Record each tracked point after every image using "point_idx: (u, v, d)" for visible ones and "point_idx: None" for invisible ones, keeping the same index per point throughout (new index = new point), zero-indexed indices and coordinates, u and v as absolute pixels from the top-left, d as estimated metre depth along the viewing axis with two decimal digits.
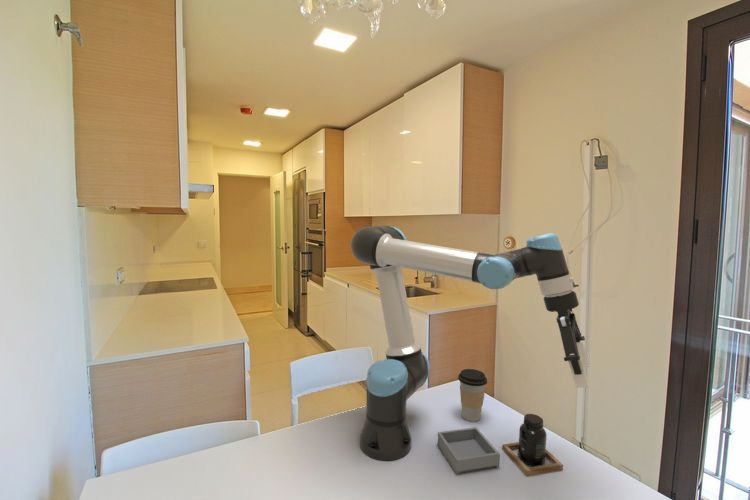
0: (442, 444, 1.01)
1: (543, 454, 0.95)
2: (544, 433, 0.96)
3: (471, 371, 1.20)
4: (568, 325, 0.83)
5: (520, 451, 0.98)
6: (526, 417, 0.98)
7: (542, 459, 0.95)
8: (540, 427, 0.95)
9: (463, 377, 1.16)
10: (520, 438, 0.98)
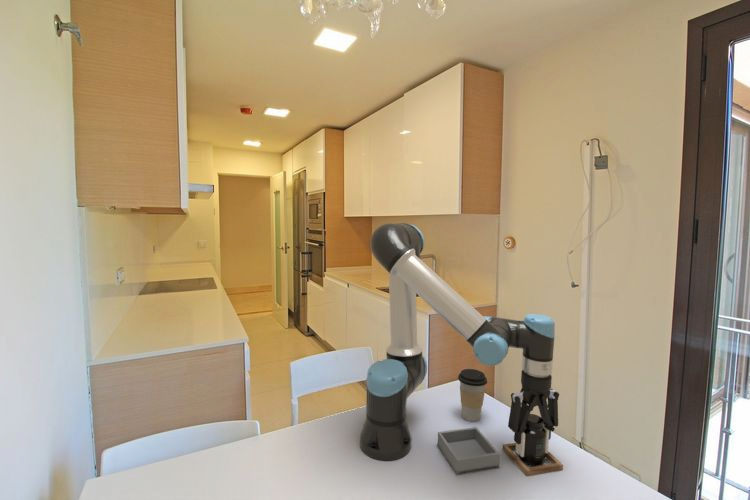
0: (442, 444, 1.01)
1: (543, 454, 0.95)
2: (544, 433, 0.96)
3: (471, 371, 1.20)
4: (516, 404, 0.95)
5: None
6: None
7: (542, 459, 0.95)
8: (540, 427, 0.95)
9: (463, 377, 1.16)
10: None
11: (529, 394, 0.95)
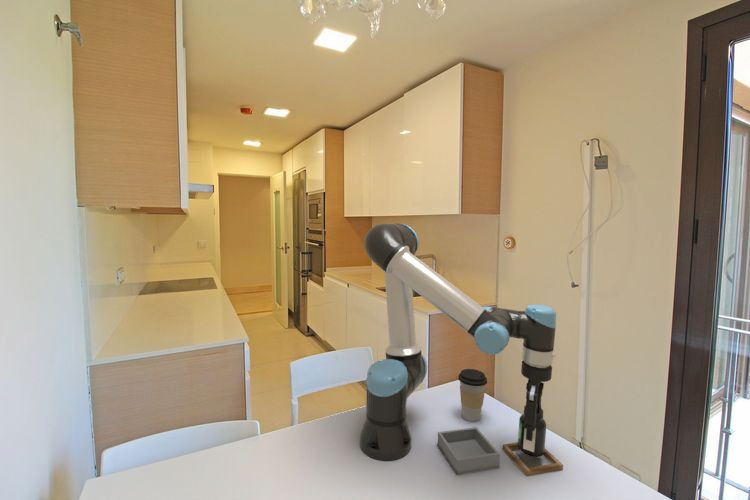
0: (442, 444, 1.01)
1: None
2: (543, 419, 0.98)
3: (471, 371, 1.20)
4: (535, 401, 0.91)
5: None
6: None
7: (544, 445, 0.97)
8: (542, 415, 0.97)
9: (463, 377, 1.16)
10: None
11: (538, 387, 0.94)
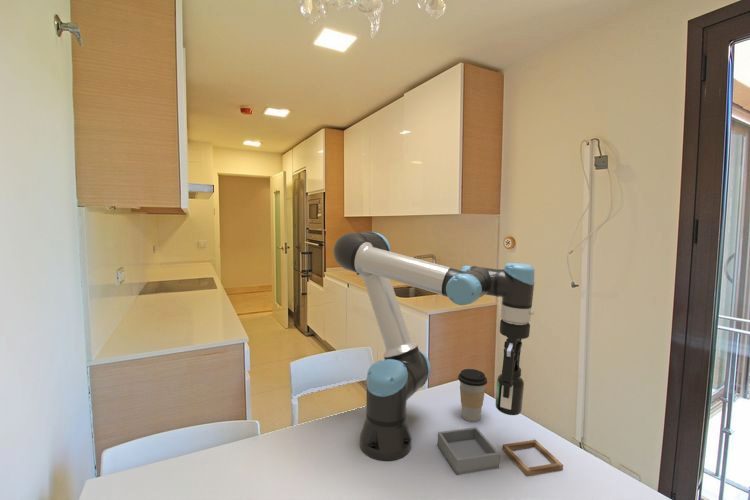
0: (442, 444, 1.01)
1: None
2: (521, 378, 0.97)
3: (471, 371, 1.20)
4: (512, 357, 0.90)
5: None
6: None
7: None
8: (520, 373, 0.96)
9: (463, 377, 1.16)
10: None
11: (516, 344, 0.93)
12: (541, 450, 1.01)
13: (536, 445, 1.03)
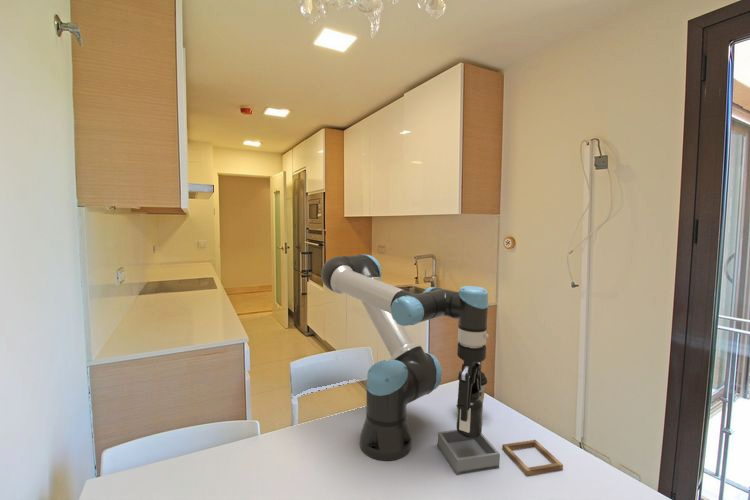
0: (442, 444, 1.01)
1: None
2: (480, 400, 0.98)
3: None
4: (466, 381, 0.91)
5: None
6: None
7: (481, 426, 0.97)
8: (479, 396, 0.97)
9: None
10: None
11: (472, 367, 0.94)
12: (541, 450, 1.01)
13: (536, 445, 1.03)
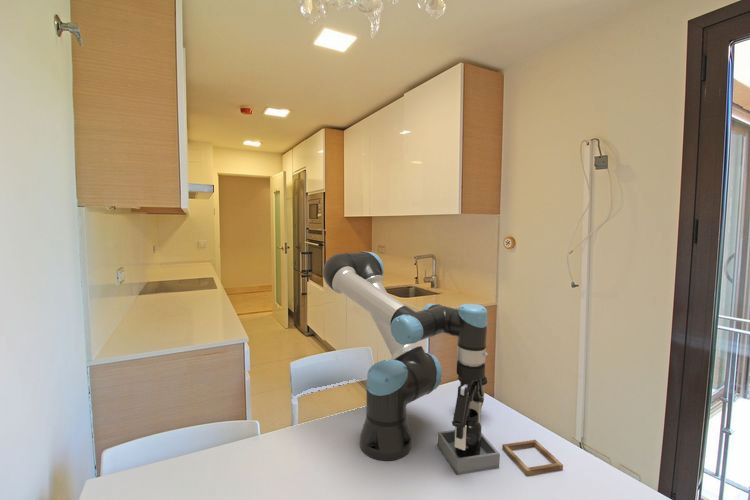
0: (442, 444, 1.01)
1: (480, 443, 0.98)
2: (479, 423, 0.99)
3: None
4: (465, 396, 0.91)
5: (463, 450, 0.96)
6: None
7: None
8: (477, 418, 0.98)
9: None
10: None
11: (471, 386, 0.95)
12: (541, 450, 1.01)
13: (536, 445, 1.03)
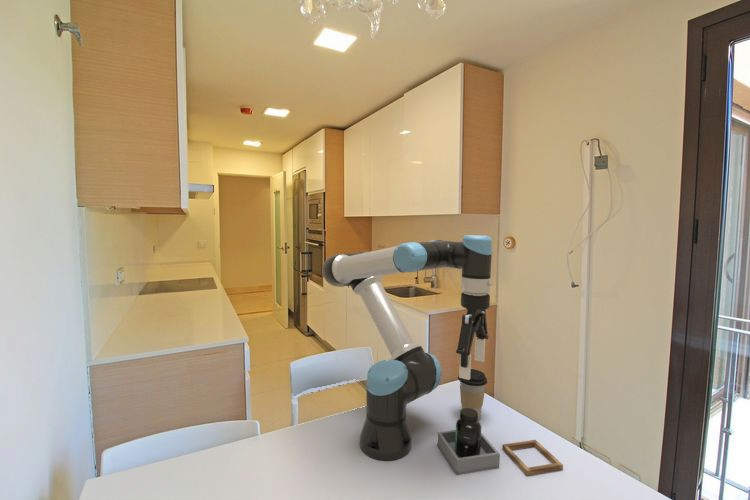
0: (442, 444, 1.01)
1: (480, 443, 0.98)
2: None
3: (471, 371, 1.20)
4: (470, 323, 0.89)
5: (463, 450, 0.96)
6: (464, 414, 0.97)
7: None
8: (477, 418, 0.98)
9: None
10: (462, 437, 0.96)
11: (475, 316, 0.93)
12: (541, 450, 1.01)
13: (536, 445, 1.03)
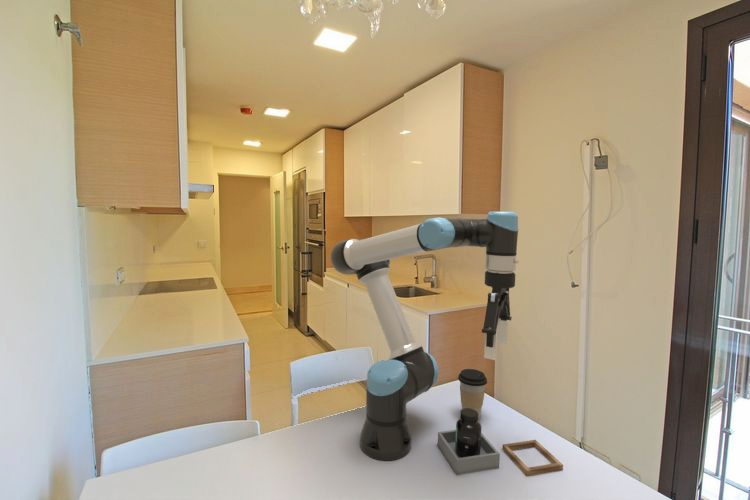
0: (442, 444, 1.01)
1: (480, 443, 0.98)
2: (479, 422, 0.99)
3: (471, 371, 1.20)
4: (496, 301, 0.86)
5: (463, 450, 0.96)
6: (464, 414, 0.97)
7: (480, 448, 0.98)
8: (477, 418, 0.98)
9: (463, 377, 1.16)
10: (462, 437, 0.96)
11: (501, 295, 0.90)
12: (541, 450, 1.01)
13: (536, 445, 1.03)
